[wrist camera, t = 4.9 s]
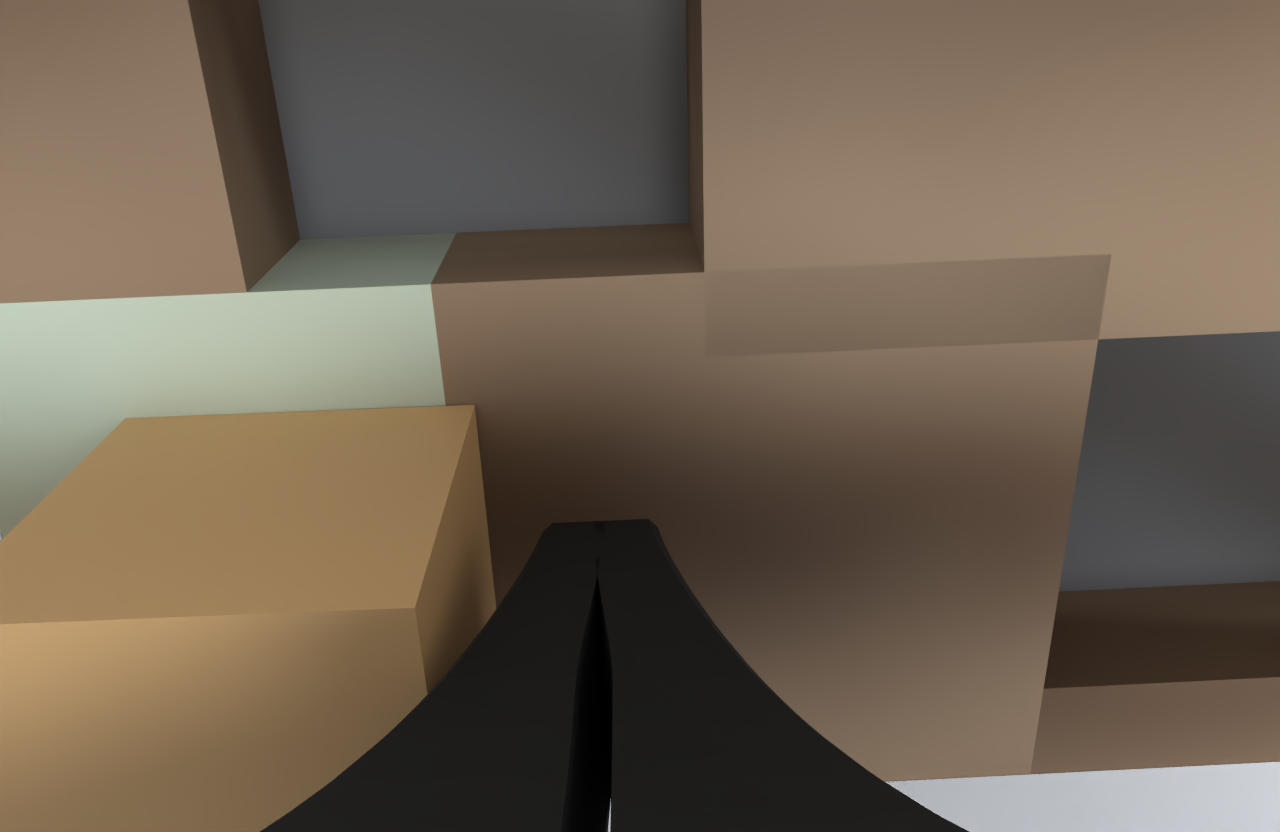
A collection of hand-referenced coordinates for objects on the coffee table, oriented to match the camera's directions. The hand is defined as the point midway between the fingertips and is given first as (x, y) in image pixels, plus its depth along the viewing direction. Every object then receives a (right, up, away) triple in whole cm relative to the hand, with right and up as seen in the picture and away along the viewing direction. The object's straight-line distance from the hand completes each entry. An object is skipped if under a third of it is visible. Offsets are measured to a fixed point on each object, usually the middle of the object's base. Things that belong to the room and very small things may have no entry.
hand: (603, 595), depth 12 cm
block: (-3, 0, +1) cm, 4 cm away
